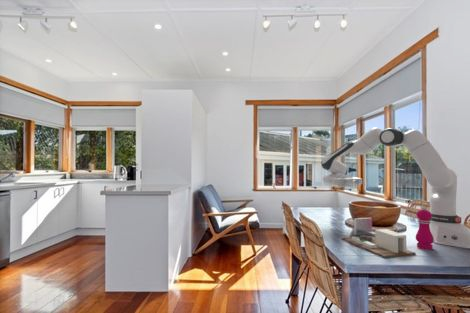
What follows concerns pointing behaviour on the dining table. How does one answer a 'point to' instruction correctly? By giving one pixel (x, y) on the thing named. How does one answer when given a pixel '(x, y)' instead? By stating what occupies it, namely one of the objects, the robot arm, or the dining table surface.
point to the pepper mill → (424, 230)
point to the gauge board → (378, 248)
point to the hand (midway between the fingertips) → (354, 182)
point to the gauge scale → (364, 242)
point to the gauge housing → (391, 240)
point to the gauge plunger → (363, 227)
